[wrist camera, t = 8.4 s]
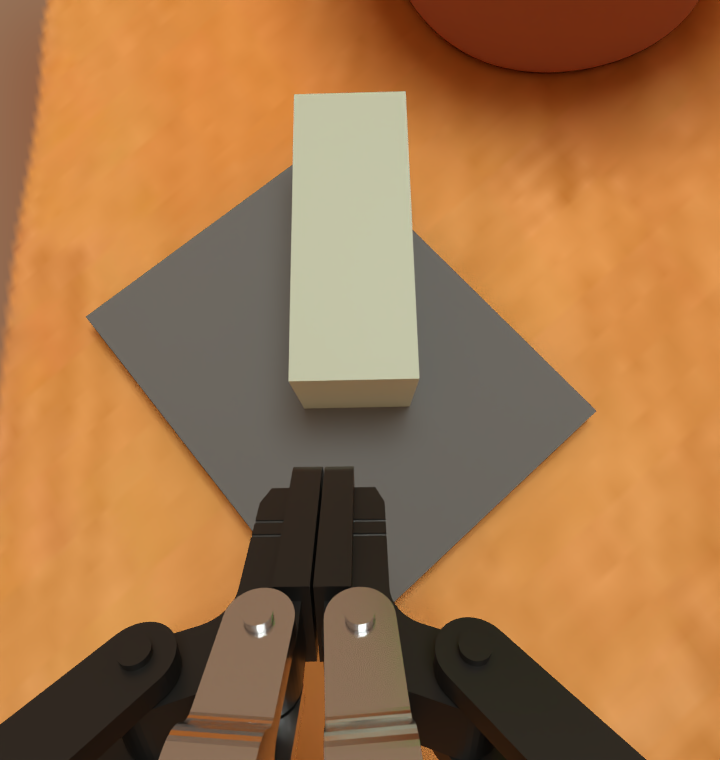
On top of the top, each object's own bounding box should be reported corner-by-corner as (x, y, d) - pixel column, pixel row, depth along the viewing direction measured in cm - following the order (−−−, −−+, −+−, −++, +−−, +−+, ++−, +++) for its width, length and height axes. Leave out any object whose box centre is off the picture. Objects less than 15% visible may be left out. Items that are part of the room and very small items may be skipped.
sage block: (419, 378, 18) (405, 91, 21) (288, 381, 18) (294, 94, 21) (409, 406, 22) (399, 165, 25) (304, 408, 22) (307, 167, 25)
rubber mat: (586, 415, 23) (596, 411, 22) (345, 643, 21) (344, 648, 20) (325, 155, 27) (323, 142, 26) (97, 324, 25) (86, 316, 24)
